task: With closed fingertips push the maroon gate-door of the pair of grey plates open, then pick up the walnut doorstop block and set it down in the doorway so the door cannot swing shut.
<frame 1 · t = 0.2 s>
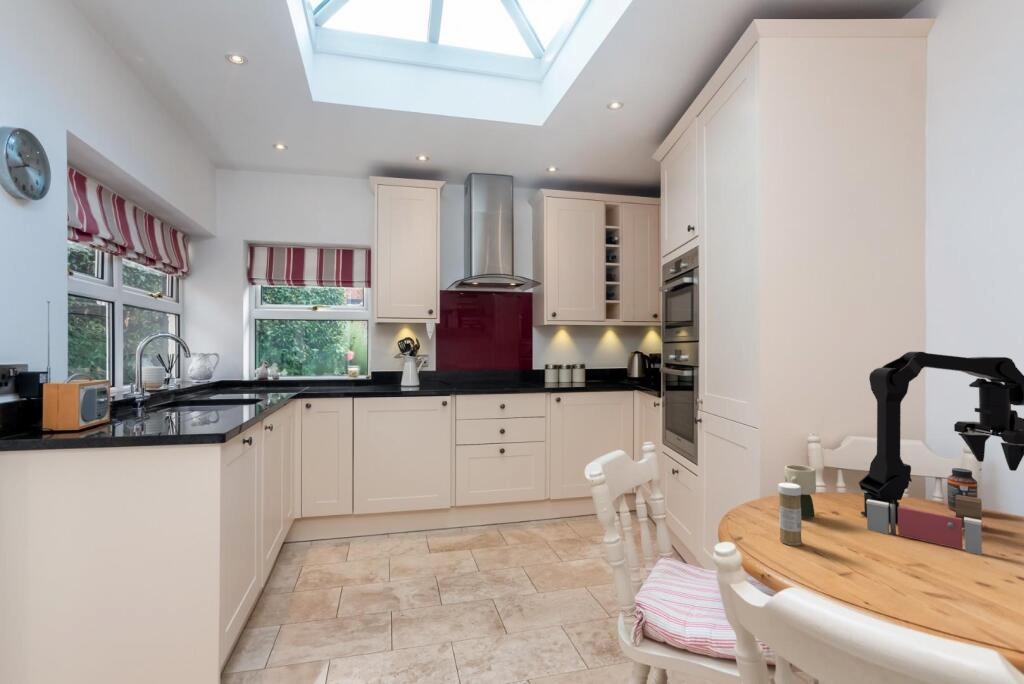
hand: (996, 465, 119), 14 cm above the table, fingers open, 9 cm apart
pair of grey plates: (893, 534, 112), on the table
character mug: (800, 517, 124), on the table
sprinkles bottle: (790, 543, 107), on the table
stop block: (969, 526, 116), on the table
supplement bottle: (962, 511, 127), on the table
door: (928, 527, 107), point 4 cm above the table, hinge at 0.0°
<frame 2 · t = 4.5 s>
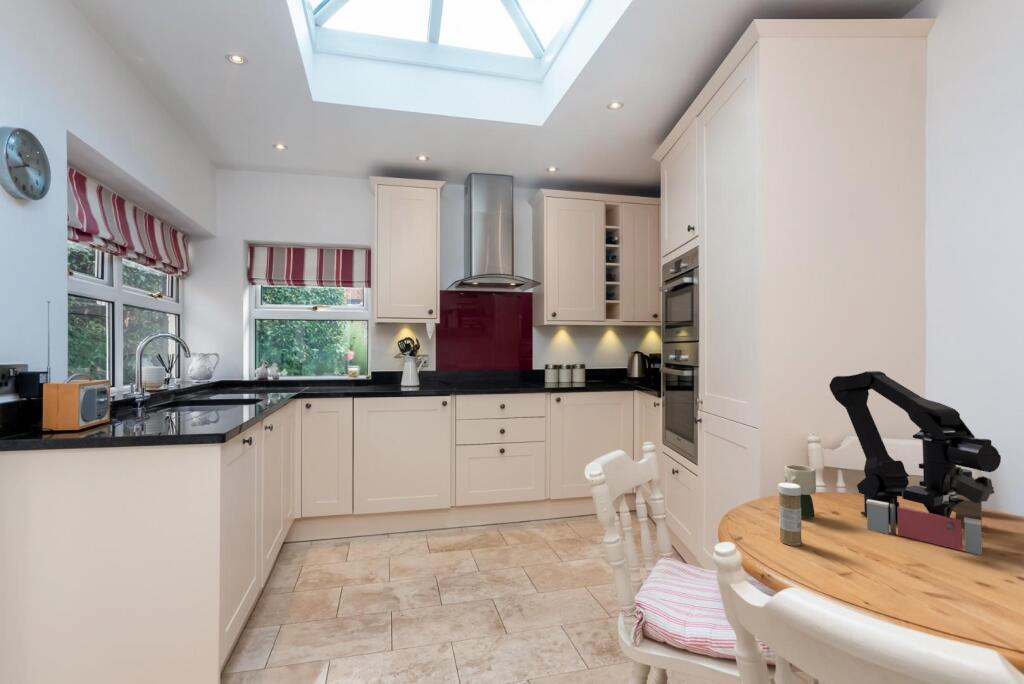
hand: (941, 528, 107), 3 cm above the table, fingers closed
door: (928, 528, 106), point 4 cm above the table, hinge at -4.6°, touching gripper
everything else where it was.
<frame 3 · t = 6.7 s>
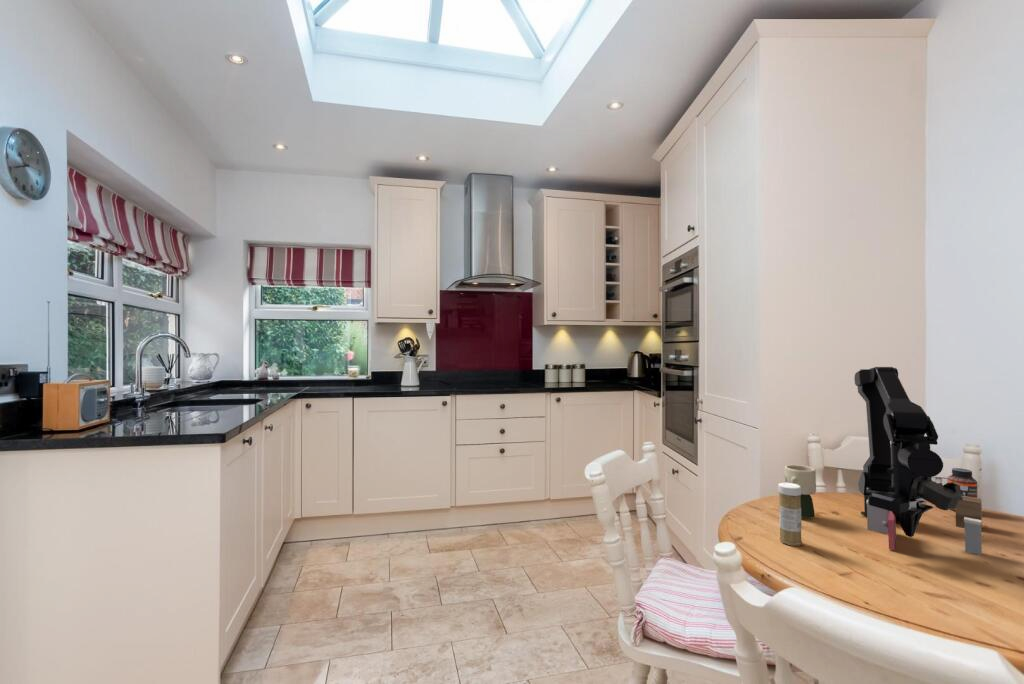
hand: (909, 536, 103), 3 cm above the table, fingers closed
door: (889, 527, 107), point 4 cm above the table, hinge at -83.7°, touching gripper
everything else where it was.
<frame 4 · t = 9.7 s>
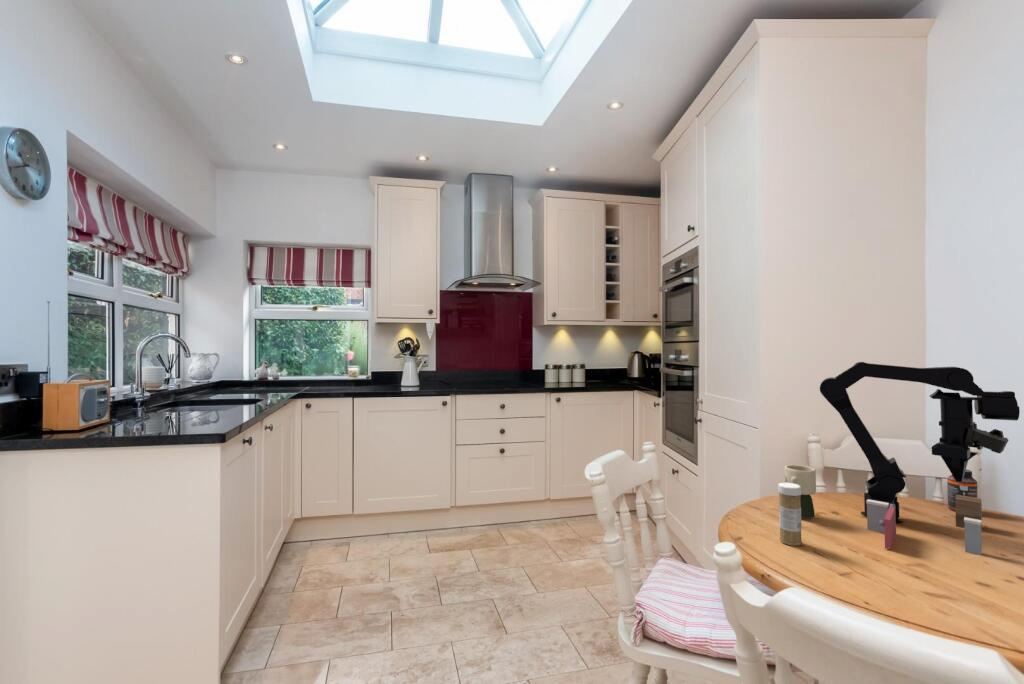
hand: (959, 481, 113), 12 cm above the table, fingers closed
door: (887, 526, 107), point 4 cm above the table, hinge at -86.9°
everything else where it was.
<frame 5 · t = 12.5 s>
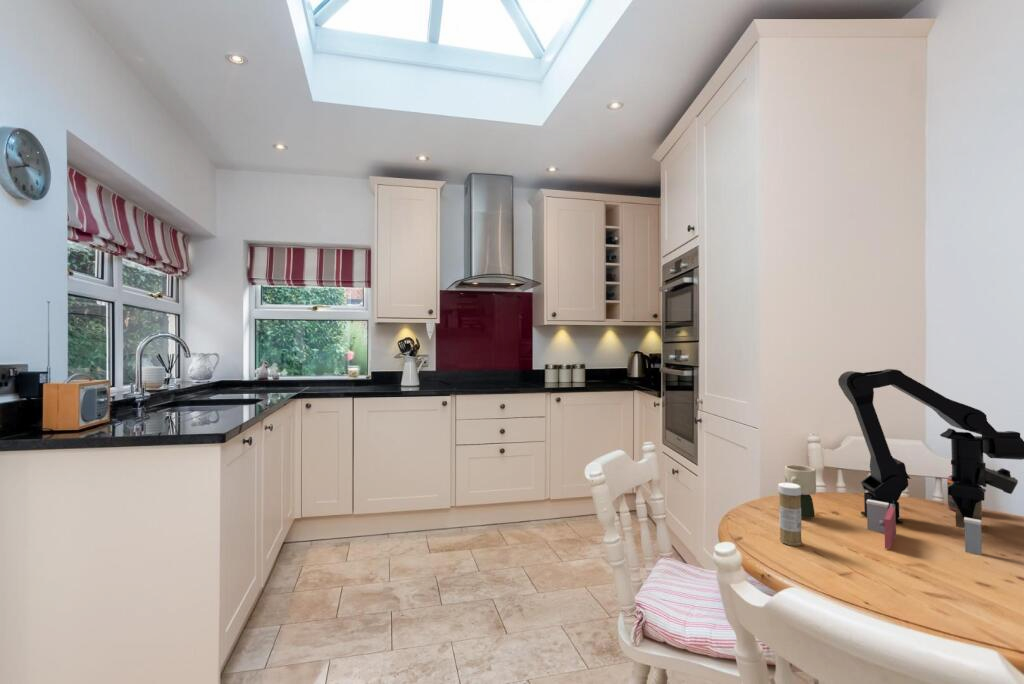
hand: (968, 519, 116), 2 cm above the table, fingers closed on stop block, 4 cm apart
stop block: (969, 526, 116), on the table, touching gripper
everything else where it was.
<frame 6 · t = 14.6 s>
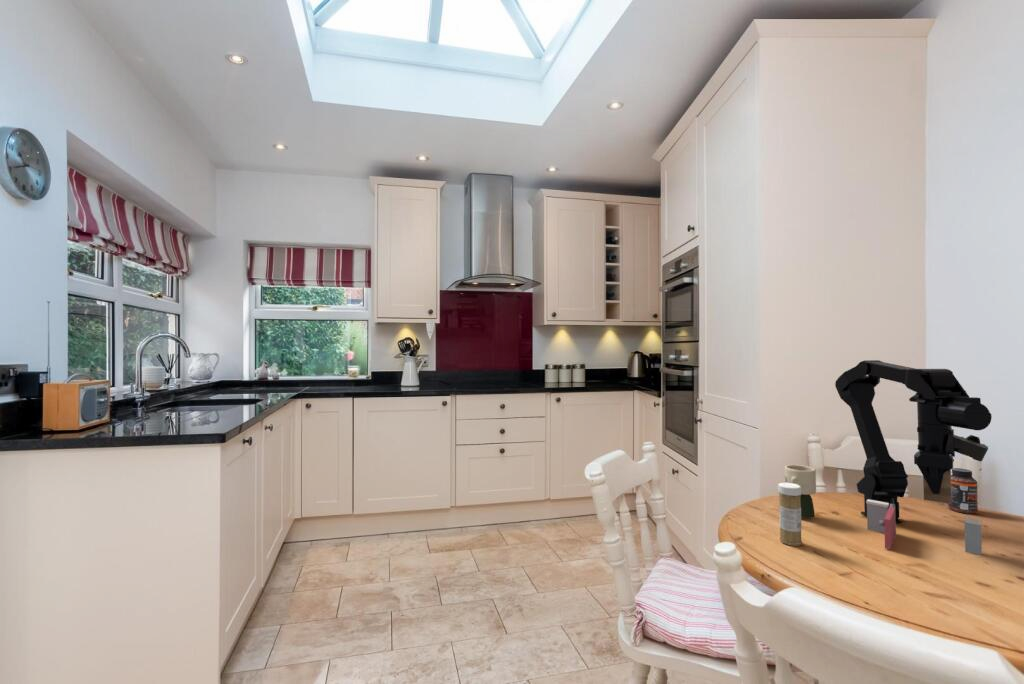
hand: (936, 491, 106), 12 cm above the table, fingers closed on stop block, 4 cm apart
stop block: (937, 499, 105), point 10 cm above the table, touching gripper
everything else where it was.
when the fingers open (4 cm above the table, at t = 16.6 s): stop block drops 2 cm, on the table.
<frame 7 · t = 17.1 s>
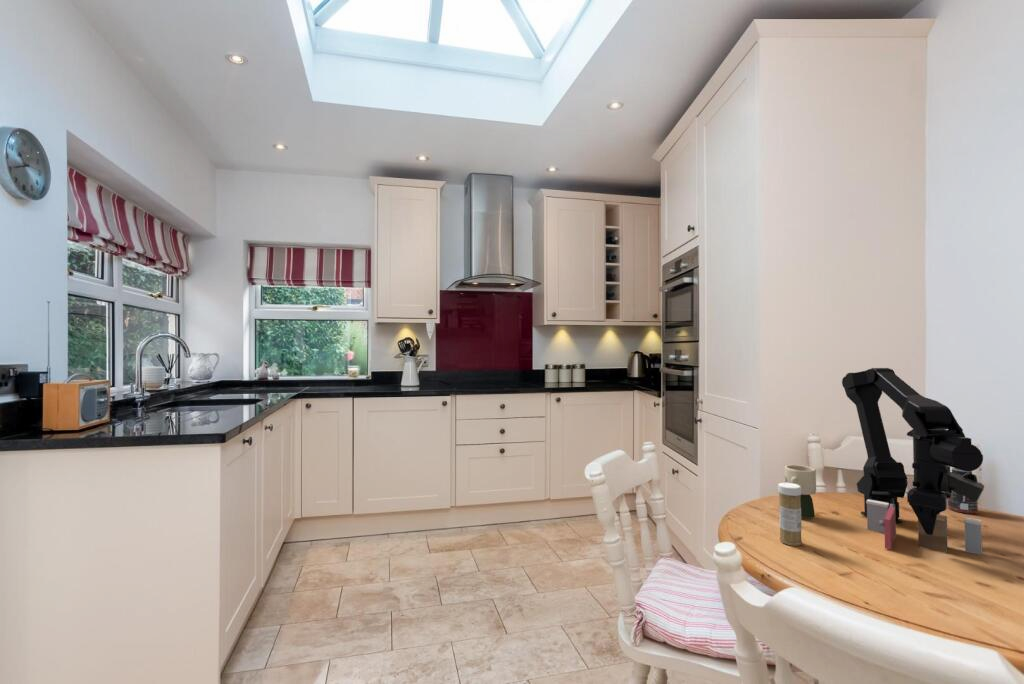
hand: (931, 528, 105), 4 cm above the table, fingers open, 9 cm apart
stop block: (933, 546, 104), on the table
everything else where it was.
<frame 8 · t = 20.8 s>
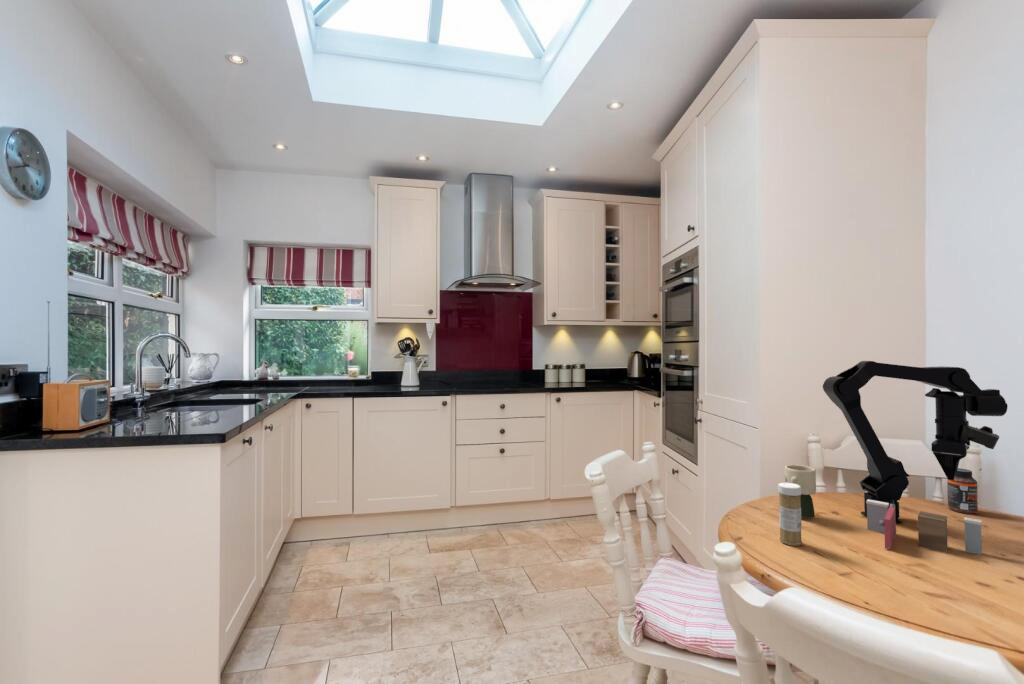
hand: (952, 476, 118), 12 cm above the table, fingers open, 9 cm apart
nothing on the table moved.
at the end: door at -87° (first picture: +0°); stop block inside the target area (0.2 cm from its centre), on the table; stop block tilted 0° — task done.
